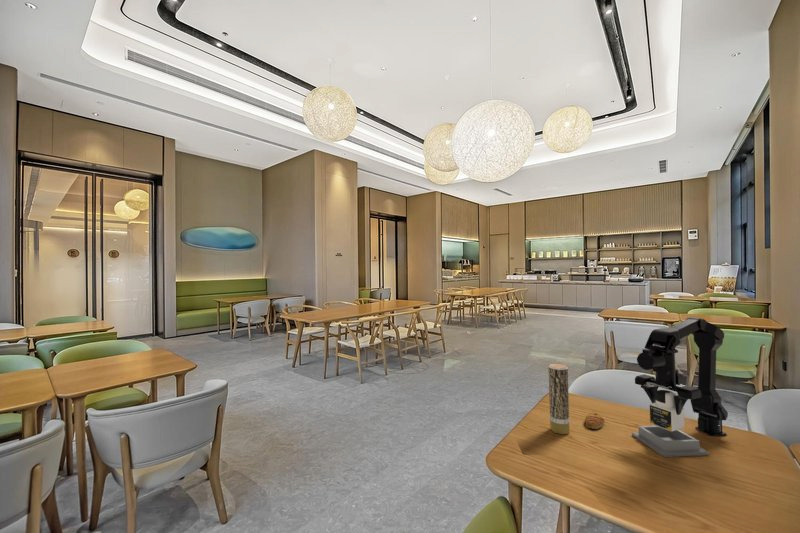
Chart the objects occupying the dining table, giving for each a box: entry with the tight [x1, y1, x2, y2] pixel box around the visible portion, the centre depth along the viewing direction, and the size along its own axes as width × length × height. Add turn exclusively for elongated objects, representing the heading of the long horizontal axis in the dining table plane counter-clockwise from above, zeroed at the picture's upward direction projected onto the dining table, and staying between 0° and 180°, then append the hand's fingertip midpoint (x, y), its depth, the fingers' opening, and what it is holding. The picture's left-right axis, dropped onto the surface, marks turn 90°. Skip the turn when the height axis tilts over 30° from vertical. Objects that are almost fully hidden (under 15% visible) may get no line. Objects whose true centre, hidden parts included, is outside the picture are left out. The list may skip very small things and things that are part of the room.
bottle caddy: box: [631, 425, 709, 458], centre depth 122 cm, size 15×15×4 cm
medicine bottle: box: [649, 389, 685, 432], centre depth 122 cm, size 7×7×12 cm
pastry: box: [584, 412, 606, 430], centre depth 138 cm, size 9×7×4 cm
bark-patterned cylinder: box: [548, 363, 570, 435], centre depth 134 cm, size 7×7×25 cm
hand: (666, 410), depth 122 cm, fingers closed on medicine bottle, 7 cm apart
